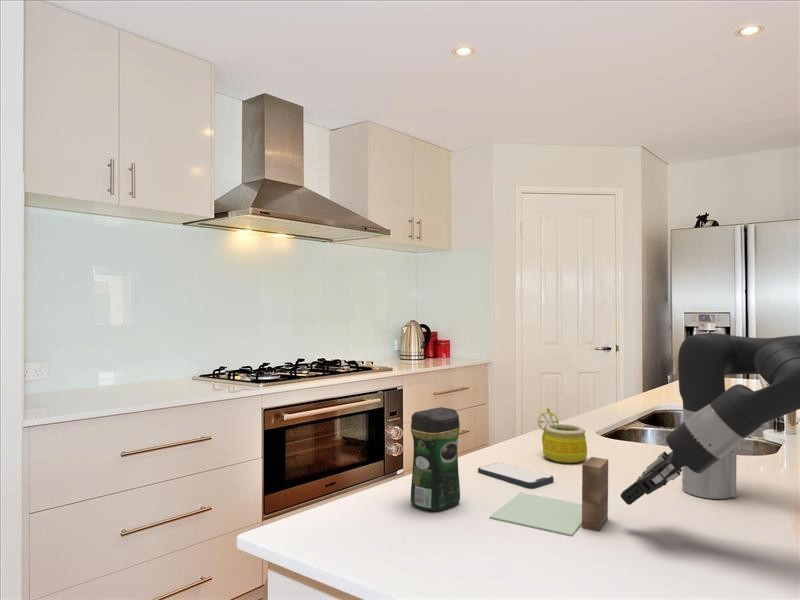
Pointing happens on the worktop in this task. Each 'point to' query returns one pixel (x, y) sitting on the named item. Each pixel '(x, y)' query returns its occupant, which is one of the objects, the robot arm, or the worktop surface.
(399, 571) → the worktop surface
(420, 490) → the coffee jar
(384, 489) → the worktop surface
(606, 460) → the walnut block
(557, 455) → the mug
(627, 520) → the worktop surface
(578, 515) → the mat
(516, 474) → the smartphone
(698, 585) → the worktop surface
